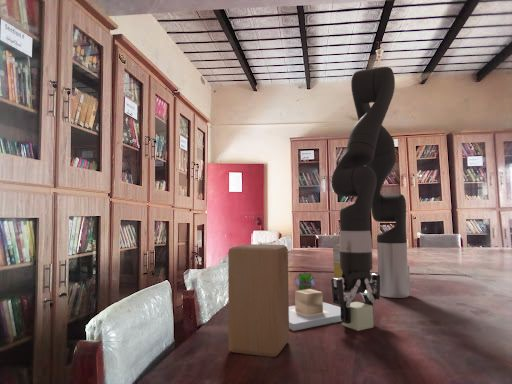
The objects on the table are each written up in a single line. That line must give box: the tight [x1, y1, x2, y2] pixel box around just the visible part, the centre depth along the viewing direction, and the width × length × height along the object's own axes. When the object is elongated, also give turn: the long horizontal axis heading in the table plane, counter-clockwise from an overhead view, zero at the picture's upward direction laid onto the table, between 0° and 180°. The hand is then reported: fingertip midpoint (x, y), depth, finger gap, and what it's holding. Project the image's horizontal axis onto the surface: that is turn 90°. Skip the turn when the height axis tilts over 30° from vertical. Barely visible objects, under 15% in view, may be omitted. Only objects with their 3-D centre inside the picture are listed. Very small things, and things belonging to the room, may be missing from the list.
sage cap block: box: [341, 301, 374, 332], centre depth 86 cm, size 5×5×5 cm
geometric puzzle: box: [294, 271, 316, 291], centre depth 127 cm, size 7×7×8 cm
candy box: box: [332, 243, 342, 278], centre depth 143 cm, size 9×4×15 cm, turn 141°
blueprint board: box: [289, 301, 342, 332], centre depth 93 cm, size 20×14×2 cm
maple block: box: [294, 288, 324, 315], centre depth 94 cm, size 5×5×5 cm
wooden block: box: [227, 243, 290, 358], centre depth 73 cm, size 10×10×20 cm
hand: (357, 320), depth 86 cm, fingers open, 6 cm apart
